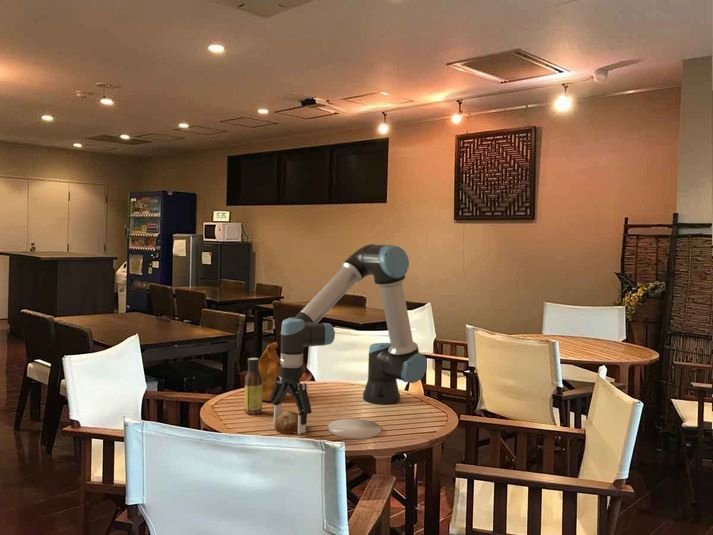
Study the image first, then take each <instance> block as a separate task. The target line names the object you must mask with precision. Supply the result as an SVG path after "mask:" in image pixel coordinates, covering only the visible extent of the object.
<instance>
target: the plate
mask: <svg viewBox="0 0 713 535" xmlns="http://www.w3.org/2000/svg"><path fill="white" fill-rule="evenodd" d="M328 430H329V431H328ZM327 431H328V433H329V432H331V433H332V434H334V435H333V436H335V435H336V436H335V437H337V436H338V438H341V439H347V440H349V439H350V440H366V439H367V440H368V439H373V438H376V437H378V436H379V435H381V434H382V426H381V425H380V424H378V423H377V422H374V421H371V420H367V419H361V418H342V419H341V418H340V419H337V420H334V421H331V422H329V424H328V425H327ZM331 433H330V434H331ZM332 434H331V435H332Z"/></svg>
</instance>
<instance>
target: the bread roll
mask: <svg viewBox="0 0 713 535" xmlns="http://www.w3.org/2000/svg"><path fill="white" fill-rule="evenodd" d="M299 414H300V413H297V412H295V411H290V410H286V411H284V412H282V414H280V415H279V416H278V418H277V420H276V422H275V425H274V430H275V431H276V432H277V433H279V432H281V433H280V434H283V433H294V432H298V415H299ZM294 434H295V433H294Z"/></svg>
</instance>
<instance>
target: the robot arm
mask: <svg viewBox="0 0 713 535" xmlns="http://www.w3.org/2000/svg"><path fill="white" fill-rule="evenodd" d="M409 267H410V260H409V257H408V254H407V252H406V251H405V250H404V249H403V248H401V247H400V246H398V245H392V244H373V243H372V244H367V245H364V246H362V247H359V248H358V249H357V250H356V251H354V252H353V253H352V254H351V255H349V257H347V258H346V260H345V261H344V262H343V263H341V269H340V270H339V271H338V272H337V273H336V274H335V275H334V276H333V277H331V279H330V280H329V281H328V282H327V283H326V284H325V285H324V286H323V287H322V289H320V291H319V292H318V293H317V294H316V295H315V296H313V298H311V300H309V302H308V303H307V304H306V305H305V306H304V307H302V309H301V310H300V312H299V313H298V314H296V316H295V317H288V318H286V319H283V321H282V322H281V330H280V364H281V366H280V376H279V377H276V381H275V385H274V388H273V391H272V394H271V397H270V401H269V402H271V403H272V405H273V411H272V412H273V425H274V426H275V422H276V420H277V418H278V416H279V415H280V414H282V413H283V412H282V411H283V410H282V409H283V405H282V401H283V400H284V398H285V396H286V395H287V394H289V395H291V397H292V398H293V399H294V403H295V405H296V407H297V410H298V414H299V415H298V433H297V435H298V434H300V433H304V432H305V433H307V432H306V427H307V426H306V425H307V422H308V421H307V420H308V415H309V414H312V413H313V411H312V407H311V403H310V399H309V398H310V397H309V395H308V394H309V393H308V390H307V389H308V388H307V386H308V385H307V383H305V382H304V383H301V378H302V377H303V370H304V369H303V364H304V348H306V347H307V348H308V347H317V346H322V347H323V346H327V345H328V346H329V345H331V344H333V342H334V341H335V338H336V337H335V336H336V334H335V333H336V332H335V328H334V326H333V325H332V324H331V323H330V322H329V323H328V322H327V323H325V322H321V323H319V322H320V321H321V320H322V319H323V318H324V317H325V316H326V315H327V314H328V313H329V311H331V309H332V308H333V307H334V306H335V305H336V304H337V303H338V302H339V301H340V300H341V299H342V298H343V296H345V294H346V293H347V292H348V291H349V290H350V289H351V288H352V287H353V286H354V285H355V284H356V283H359V282H361V281H362V280H363V279H364V278H365V277H368V276H373V280H374V284H375V285H376V286H378V287H379V290H380V294H381V301H382V305H383V310H384V316H385V321H386V327H387V330H388V331H387V332H388V336H389V342H377V343H372V344H370V346H369V348H368V366H367V368H368V370H367V371H368V372H367V381H366V384H365V388H364V391H363V392H362V399H363V401H365V402H367V403H370V404H378V405H390V404H391V405H392V404H396V403H397V404H398V403H399V402H400V401H401V393H400V390H399V386H398V382H397V380H399V381H403V382H404V383H409V384H410V383H411V384H414V383H417V382H419V381H420V380H422V379H423V377H424V376H425V373H426V372H427V368H428V361H427V358H426V355H424V354H422V353H420V349H419V345H418V343H416V342H415V341H413V336H412V335H413V334H412V330H411V323H410V318H409V312H408V306H407V301H406V295H405V291H404V290H405V289H404V286H403V282H404V281H405V279H406V274H407V272H408V269H409ZM305 433H304V434H305ZM300 435H301V434H300Z"/></svg>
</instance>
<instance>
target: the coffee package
mask: <svg viewBox="0 0 713 535" xmlns="http://www.w3.org/2000/svg"><path fill="white" fill-rule="evenodd" d="M278 346H279V344H278V343H277V341H275V342H272V343H269V344H267V347H266V348H265V350H264V352H263V353H262V354H261V356H260V358H259V363H258V369H259V373H260V376H261V380H262V402H270V397H271V394H272V391H273V388H274V385H275V381H276V377H279V376H280V366H281V364H280V360H281V357H280V356H279V355H278V353H277V352H278V351H277V349H276V348H277V347H278Z"/></svg>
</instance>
